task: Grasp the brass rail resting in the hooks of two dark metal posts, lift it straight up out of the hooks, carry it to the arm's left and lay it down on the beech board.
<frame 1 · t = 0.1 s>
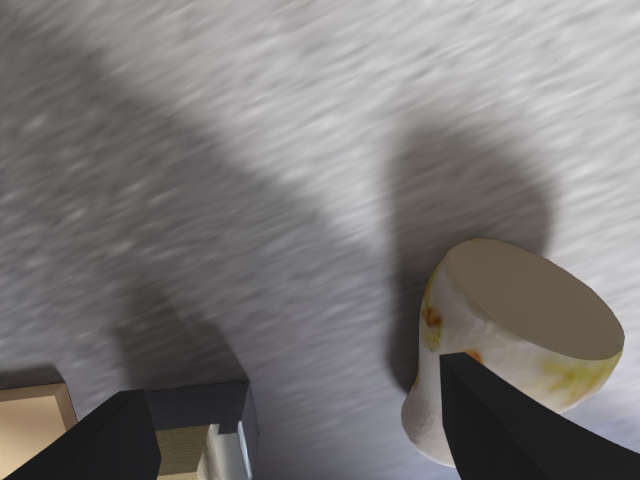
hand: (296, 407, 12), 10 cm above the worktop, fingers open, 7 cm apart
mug: (466, 334, 23), on the worktop
post 1: (201, 412, 23), on the worktop
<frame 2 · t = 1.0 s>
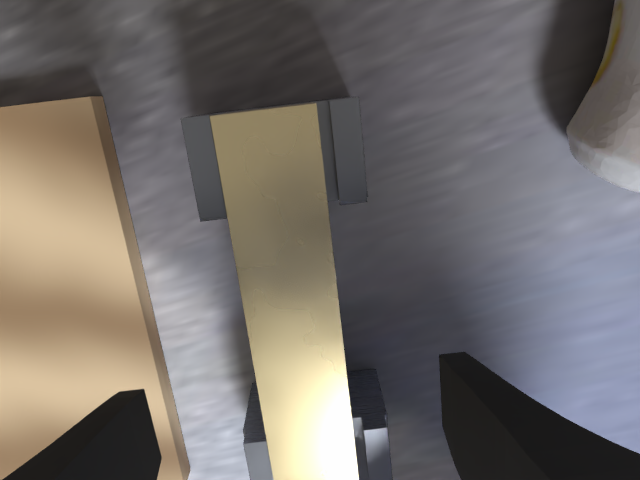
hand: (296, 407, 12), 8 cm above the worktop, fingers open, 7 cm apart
board: (52, 317, 19), on the worktop
rail: (300, 322, 16), point 3 cm above the worktop, touching post 1, post 2
post 2: (317, 406, 21), on the worktop
post 1: (283, 148, 17), on the worktop
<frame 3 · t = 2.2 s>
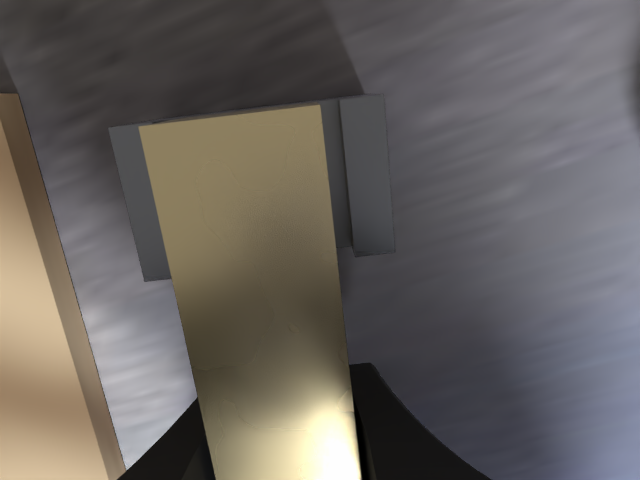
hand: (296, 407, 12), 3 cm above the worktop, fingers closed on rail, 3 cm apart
rail: (296, 415, 11), point 3 cm above the worktop, touching gripper, post 1, post 2
post 1: (271, 165, 13), on the worktop
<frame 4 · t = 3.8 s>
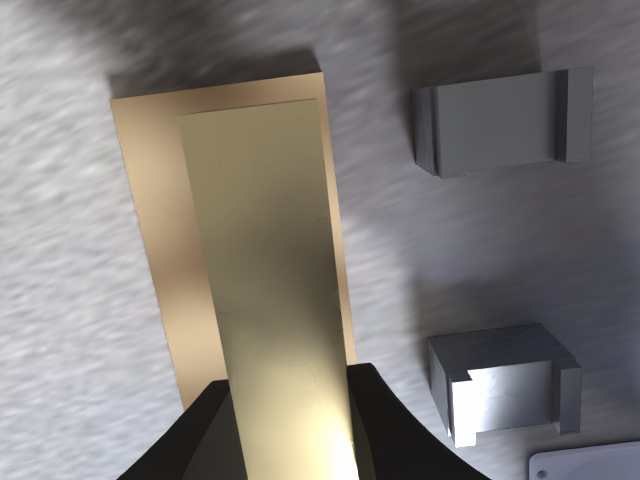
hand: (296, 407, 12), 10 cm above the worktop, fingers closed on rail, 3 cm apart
board: (254, 276, 21), on the worktop
rail: (298, 364, 13), point 8 cm above the worktop, touching gripper
post 2: (484, 359, 22), on the worktop
post 1: (477, 119, 19), on the worktop
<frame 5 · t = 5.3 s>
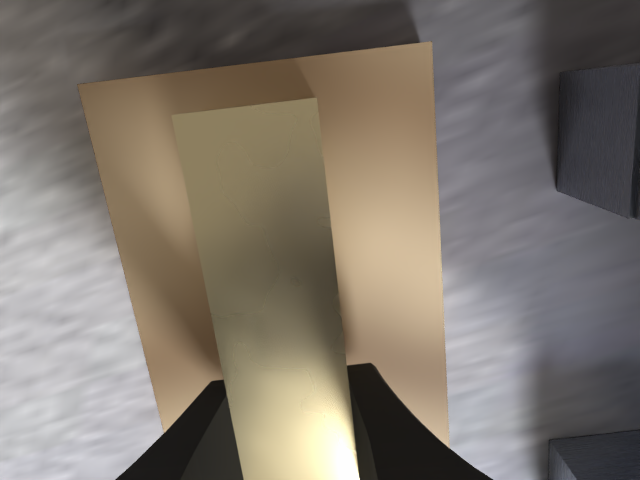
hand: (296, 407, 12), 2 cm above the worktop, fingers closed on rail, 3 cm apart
board: (299, 354, 14), on the worktop
rail: (297, 370, 13), point 1 cm above the worktop, touching board, gripper
post 2: (628, 469, 15), on the worktop
when the fingers open (2 cm above the worktop, at t = 5.8 s): rail stays where it is, resting on board.
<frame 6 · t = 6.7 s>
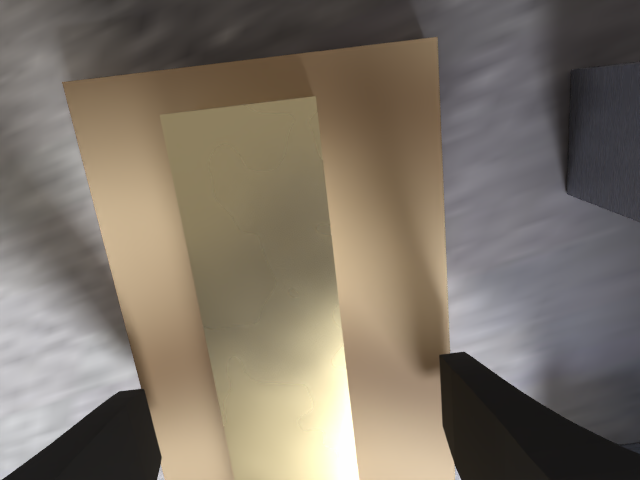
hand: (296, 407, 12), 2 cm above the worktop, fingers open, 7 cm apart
board: (298, 364, 13), on the worktop
rail: (295, 381, 12), point 1 cm above the worktop, touching board
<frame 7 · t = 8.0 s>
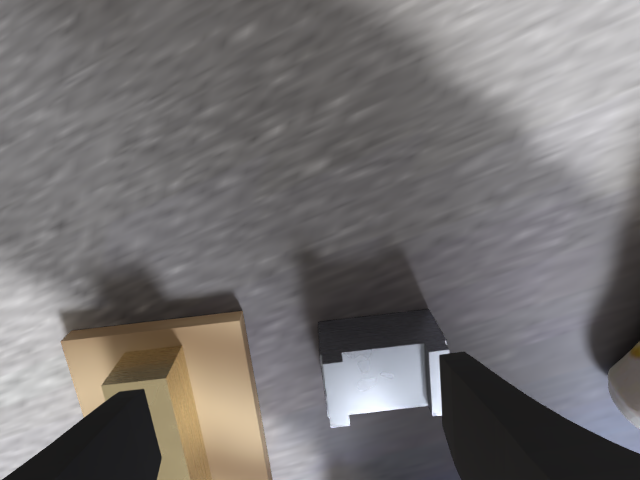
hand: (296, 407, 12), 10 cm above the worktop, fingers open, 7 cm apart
board: (190, 461, 25), on the worktop
rail: (184, 474, 24), point 1 cm above the worktop, touching board
post 1: (375, 344, 23), on the worktop
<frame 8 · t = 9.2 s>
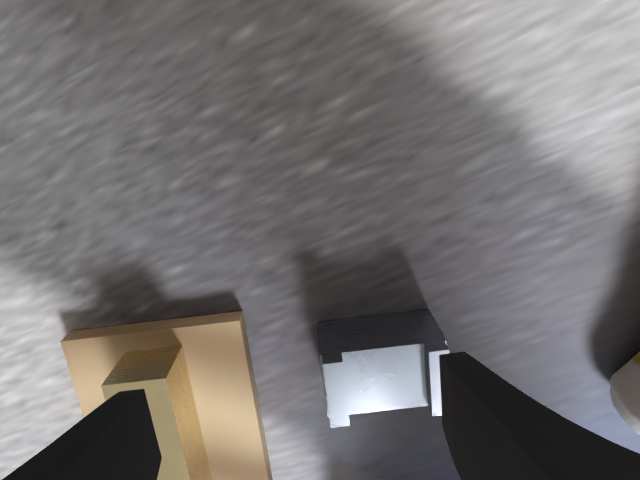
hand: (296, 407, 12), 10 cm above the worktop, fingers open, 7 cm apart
board: (190, 461, 25), on the worktop
rail: (184, 474, 24), point 1 cm above the worktop, touching board
post 1: (375, 344, 23), on the worktop
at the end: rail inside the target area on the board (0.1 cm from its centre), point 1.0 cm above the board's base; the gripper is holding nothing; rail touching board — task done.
